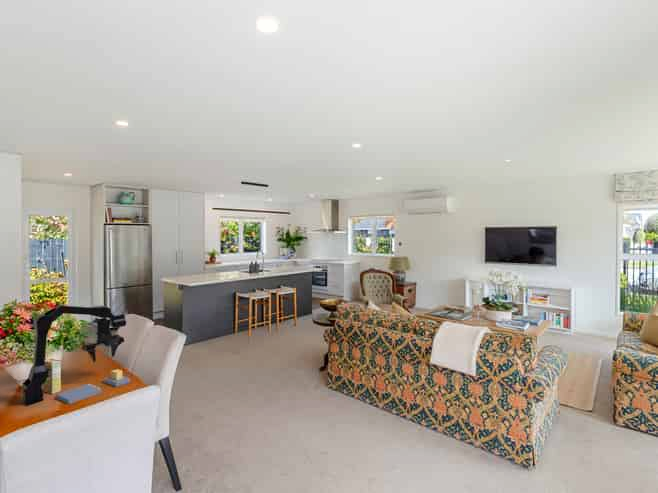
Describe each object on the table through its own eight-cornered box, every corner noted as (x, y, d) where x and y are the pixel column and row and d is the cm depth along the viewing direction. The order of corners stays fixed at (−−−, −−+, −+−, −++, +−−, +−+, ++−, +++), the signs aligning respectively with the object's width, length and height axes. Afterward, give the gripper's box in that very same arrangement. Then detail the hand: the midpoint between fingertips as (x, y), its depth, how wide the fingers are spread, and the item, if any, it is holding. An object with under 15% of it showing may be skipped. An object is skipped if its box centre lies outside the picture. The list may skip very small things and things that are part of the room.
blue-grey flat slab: (68, 404, 159) (68, 399, 159) (56, 398, 165) (56, 393, 165) (101, 392, 171) (101, 388, 171) (88, 387, 177) (88, 383, 177)
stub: (116, 386, 177) (116, 375, 177) (103, 382, 183) (103, 371, 183) (130, 381, 183) (129, 370, 183) (117, 377, 189) (117, 366, 189)
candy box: (41, 391, 173) (41, 360, 173) (51, 388, 177) (51, 358, 177) (52, 394, 170) (51, 363, 169) (61, 390, 173) (61, 360, 173)
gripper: (92, 336, 172) (92, 367, 172) (129, 327, 188) (130, 356, 188) (80, 333, 178) (81, 363, 178) (118, 325, 194) (118, 353, 194)
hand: (103, 359), depth 184 cm, fingers open, 9 cm apart
